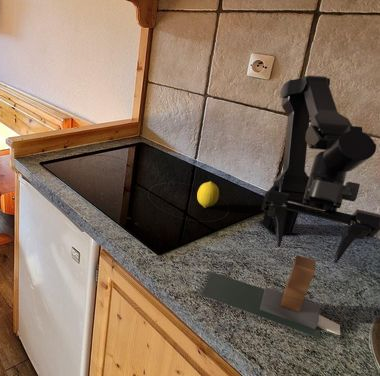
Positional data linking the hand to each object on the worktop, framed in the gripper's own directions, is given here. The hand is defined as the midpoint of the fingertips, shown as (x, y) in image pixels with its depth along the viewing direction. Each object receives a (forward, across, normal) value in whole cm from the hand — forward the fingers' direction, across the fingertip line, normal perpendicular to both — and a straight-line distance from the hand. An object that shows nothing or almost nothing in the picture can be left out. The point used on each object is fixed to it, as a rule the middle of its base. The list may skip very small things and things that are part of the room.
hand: (306, 253), depth 75 cm
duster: (+11, 0, +3) cm, 11 cm away
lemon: (-14, -23, +29) cm, 40 cm away
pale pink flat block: (+11, +6, +4) cm, 13 cm away
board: (+11, -5, +4) cm, 13 cm away
